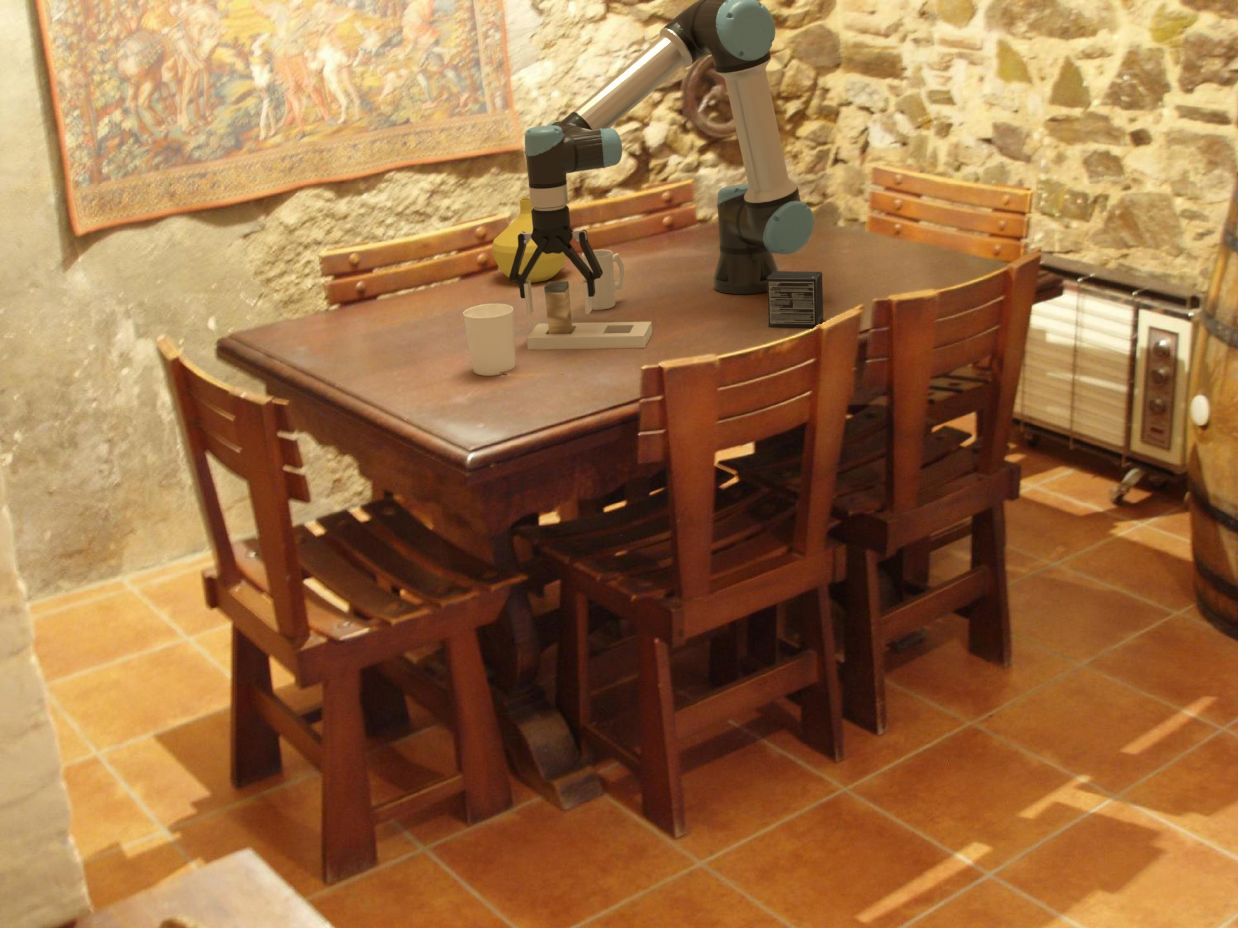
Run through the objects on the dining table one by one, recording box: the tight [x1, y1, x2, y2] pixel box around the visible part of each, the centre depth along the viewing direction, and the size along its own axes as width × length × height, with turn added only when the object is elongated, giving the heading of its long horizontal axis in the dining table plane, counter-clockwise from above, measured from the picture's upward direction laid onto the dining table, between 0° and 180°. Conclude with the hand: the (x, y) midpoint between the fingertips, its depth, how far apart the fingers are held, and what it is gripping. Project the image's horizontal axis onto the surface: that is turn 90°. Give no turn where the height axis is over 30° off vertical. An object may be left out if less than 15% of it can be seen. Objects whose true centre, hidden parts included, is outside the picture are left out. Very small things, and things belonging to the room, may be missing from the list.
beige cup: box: [462, 303, 516, 377], centre depth 278 cm, size 10×10×12 cm
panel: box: [526, 321, 653, 351], centre depth 291 cm, size 24×10×3 cm, turn 80°
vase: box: [491, 197, 567, 284], centre depth 342 cm, size 18×18×19 cm
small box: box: [766, 270, 824, 329], centre depth 293 cm, size 11×6×10 cm, turn 71°
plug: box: [544, 280, 573, 334], centre depth 290 cm, size 4×4×12 cm
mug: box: [581, 249, 625, 311], centre depth 316 cm, size 10×7×12 cm, turn 125°
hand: (559, 312), depth 290 cm, fingers open, 11 cm apart
